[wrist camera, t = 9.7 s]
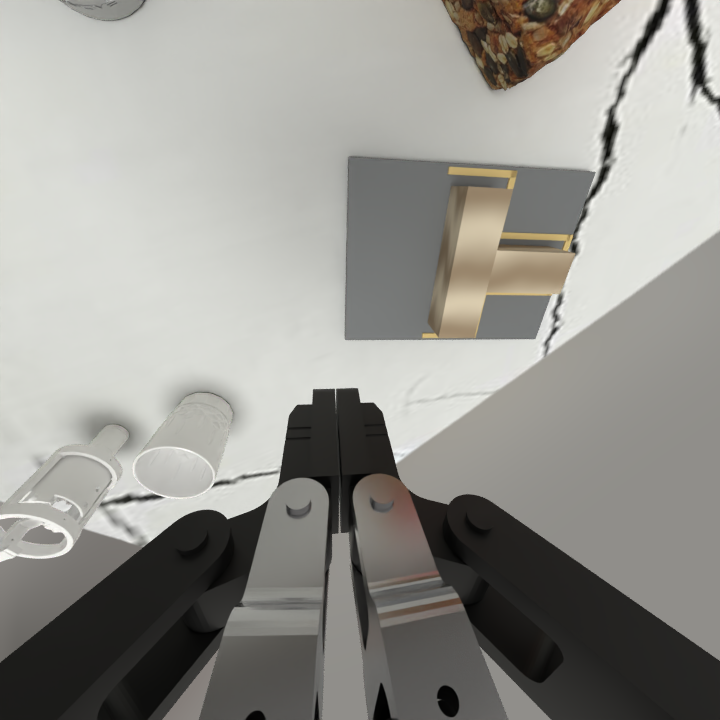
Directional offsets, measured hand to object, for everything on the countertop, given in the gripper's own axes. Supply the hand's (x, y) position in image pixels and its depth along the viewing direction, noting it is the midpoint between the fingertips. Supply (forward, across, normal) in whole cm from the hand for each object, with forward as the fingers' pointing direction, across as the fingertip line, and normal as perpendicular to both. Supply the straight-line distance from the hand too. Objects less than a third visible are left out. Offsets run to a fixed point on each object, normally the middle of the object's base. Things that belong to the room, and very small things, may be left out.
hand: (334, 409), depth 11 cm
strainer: (+25, +28, +23) cm, 44 cm away
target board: (+25, -14, 0) cm, 29 cm away
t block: (+24, -18, 0) cm, 30 cm away
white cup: (+25, +16, +20) cm, 36 cm away
